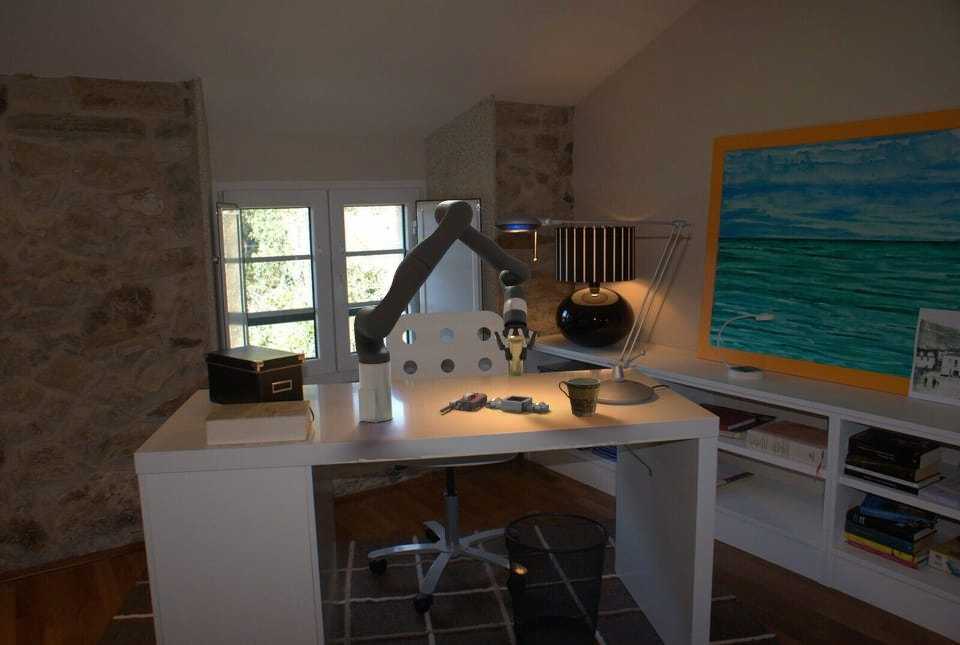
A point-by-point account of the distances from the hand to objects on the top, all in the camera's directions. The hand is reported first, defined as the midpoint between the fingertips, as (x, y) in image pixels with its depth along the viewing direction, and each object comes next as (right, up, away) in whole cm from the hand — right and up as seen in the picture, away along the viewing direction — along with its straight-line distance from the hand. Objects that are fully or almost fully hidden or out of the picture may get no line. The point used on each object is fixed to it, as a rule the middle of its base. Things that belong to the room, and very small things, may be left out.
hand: (516, 359), depth 222 cm
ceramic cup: (+19, -16, -3) cm, 25 cm away
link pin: (0, -5, +3) cm, 5 cm away
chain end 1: (-5, -15, +7) cm, 17 cm away
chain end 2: (+3, -15, +3) cm, 16 cm away
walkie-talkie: (-16, -16, +7) cm, 23 cm away
